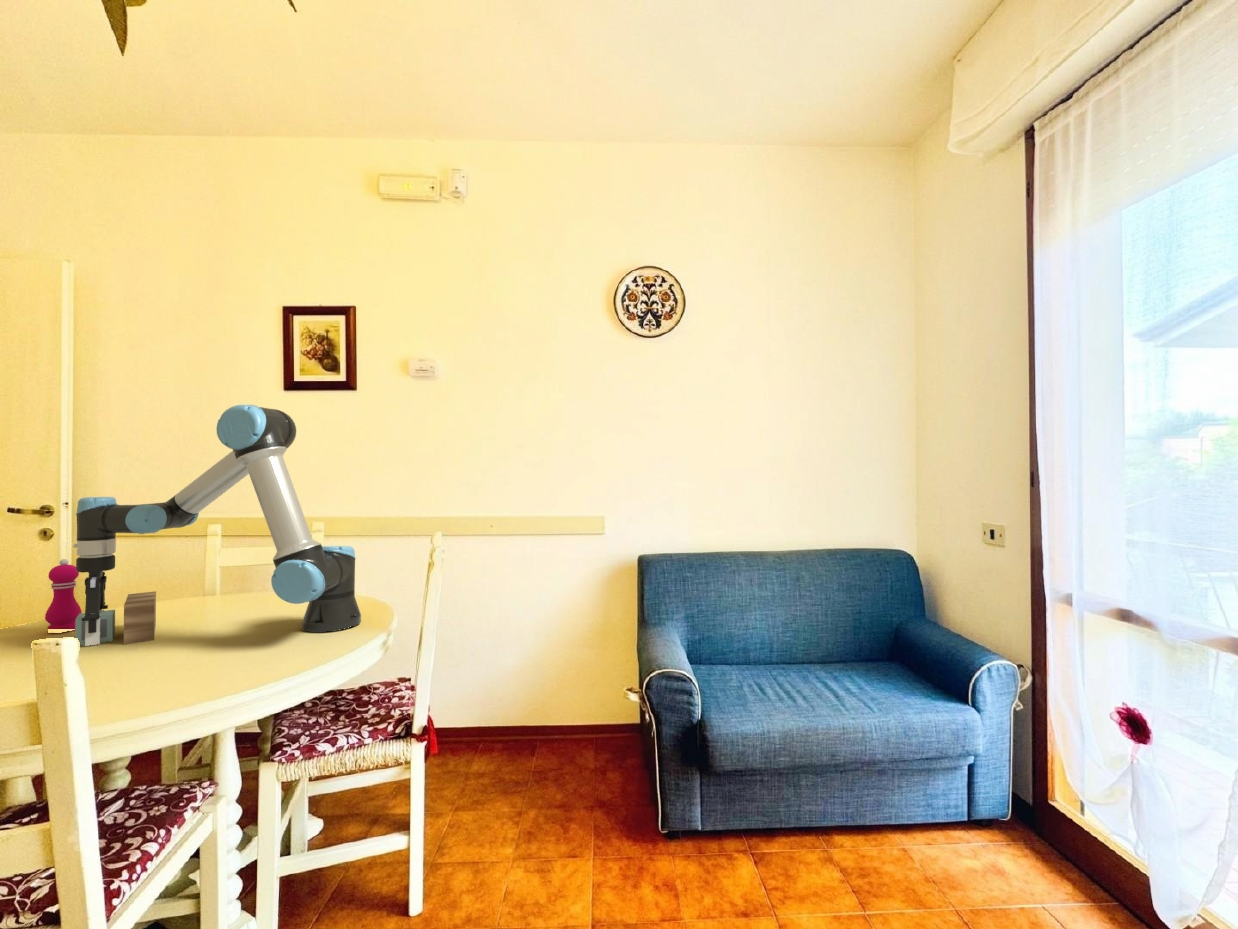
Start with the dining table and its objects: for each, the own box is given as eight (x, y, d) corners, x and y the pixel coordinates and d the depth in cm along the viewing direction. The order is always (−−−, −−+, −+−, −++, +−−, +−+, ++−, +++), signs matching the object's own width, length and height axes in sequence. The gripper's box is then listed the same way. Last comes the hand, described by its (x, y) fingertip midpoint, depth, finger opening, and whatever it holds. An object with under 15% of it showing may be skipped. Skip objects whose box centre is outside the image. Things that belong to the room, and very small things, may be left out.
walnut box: (154, 640, 146) (154, 602, 146) (123, 644, 143) (123, 605, 143) (155, 626, 159) (156, 591, 159) (127, 630, 155) (128, 594, 155)
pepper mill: (81, 625, 159) (81, 556, 159) (81, 631, 154) (82, 559, 154) (45, 630, 154) (45, 559, 154) (44, 636, 149) (44, 562, 149)
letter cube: (112, 641, 145) (112, 615, 145) (75, 646, 141) (75, 619, 141) (114, 635, 151) (115, 609, 151) (79, 640, 146) (79, 613, 146)
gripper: (82, 551, 152) (80, 632, 152) (69, 562, 135) (68, 654, 135) (118, 549, 157) (117, 627, 157) (111, 559, 139) (110, 648, 139)
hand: (94, 639), depth 146 cm, fingers open, 10 cm apart
